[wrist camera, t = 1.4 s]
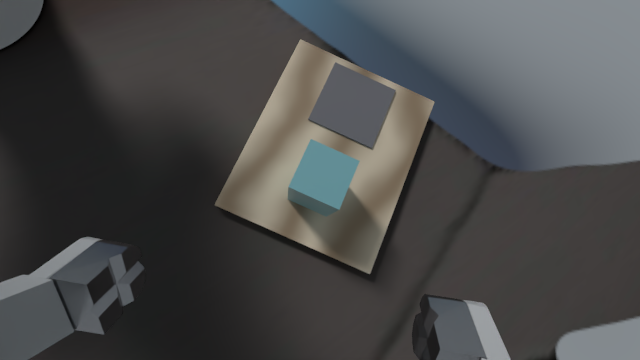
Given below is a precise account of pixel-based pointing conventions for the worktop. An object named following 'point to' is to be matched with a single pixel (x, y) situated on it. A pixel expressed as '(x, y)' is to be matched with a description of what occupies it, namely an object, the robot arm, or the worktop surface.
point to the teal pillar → (322, 178)
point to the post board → (296, 132)
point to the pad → (352, 105)
